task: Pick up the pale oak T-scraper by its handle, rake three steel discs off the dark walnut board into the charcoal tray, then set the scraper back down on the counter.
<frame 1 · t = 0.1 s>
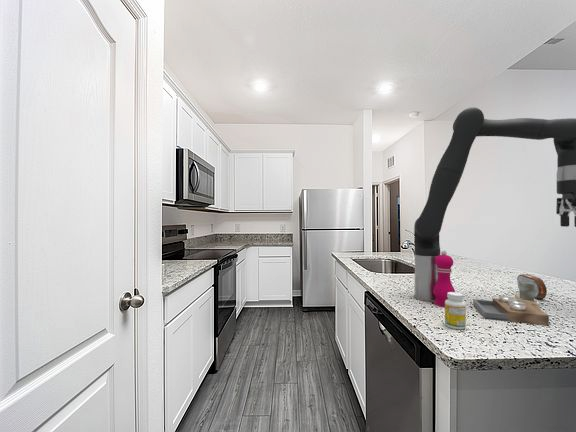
hand: (571, 226, 98), 29 cm above the countertop, tool pointing down, fingers open, 8 cm apart
disc c: (505, 301, 99), point 3 cm above the countertop, touching walnut board
tin: (530, 296, 118), on the countertop
pepper mill: (444, 305, 105), on the countertop
disc a: (517, 309, 90), point 3 cm above the countertop, touching walnut board
supplement bottle: (455, 327, 84), on the countertop
tray: (489, 312, 97), on the countertop
scraper: (526, 304, 107), on the countertop
disc b: (516, 305, 94), point 3 cm above the countertop, touching walnut board
walnut board: (517, 315, 94), on the countertop
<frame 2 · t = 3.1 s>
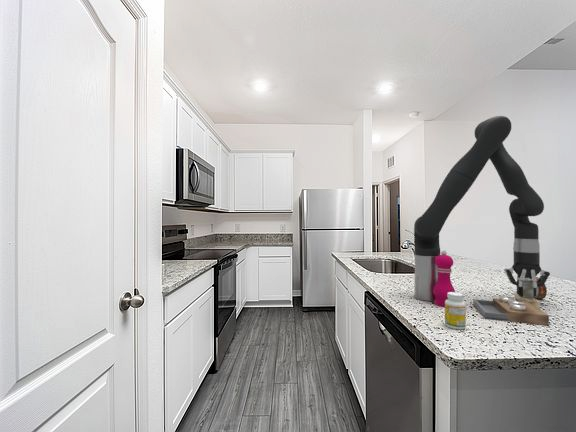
hand: (526, 296, 107), 3 cm above the countertop, tool pointing down, fingers closed on scraper, 3 cm apart
scraper: (526, 302, 107), on the countertop, touching gripper
everything else where it was.
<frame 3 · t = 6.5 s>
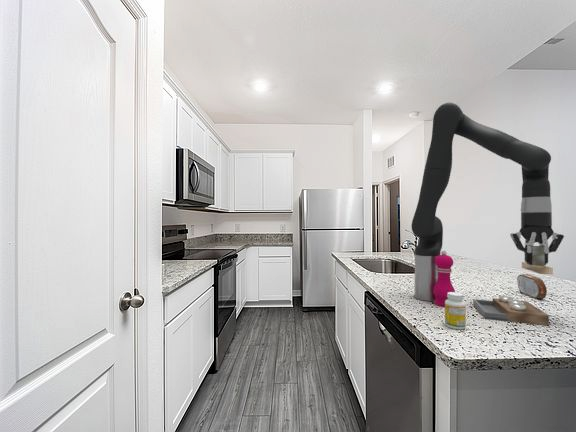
hand: (536, 264, 92), 17 cm above the countertop, tool pointing down, fingers closed on scraper, 3 cm apart
scraper: (536, 270, 93), point 15 cm above the countertop, touching gripper
everything else where it was.
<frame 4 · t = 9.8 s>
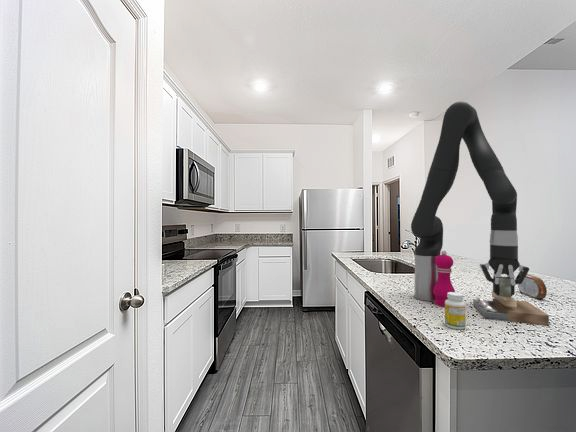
hand: (503, 295, 96), 6 cm above the countertop, tool pointing down, fingers closed on scraper, 3 cm apart
disc c: (484, 300, 102), point 3 cm above the countertop, tilted 153°, touching tray
disc a: (491, 307, 93), point 3 cm above the countertop, tilted 154°, touching tray
scraper: (503, 301, 96), point 4 cm above the countertop, touching gripper
disc b: (487, 303, 97), point 3 cm above the countertop, tilted 151°, touching tray
everything else where it was.
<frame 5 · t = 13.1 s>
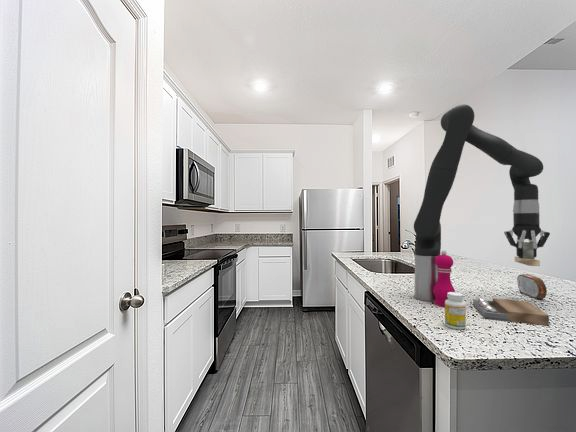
hand: (526, 258, 107), 17 cm above the countertop, tool pointing down, fingers closed on scraper, 3 cm apart
scraper: (526, 263, 107), point 15 cm above the countertop, touching gripper
everything else where it was.
when the fingers open (4 cm above the countertop, at t = 15.7 s): scraper drops 2 cm, on the countertop.
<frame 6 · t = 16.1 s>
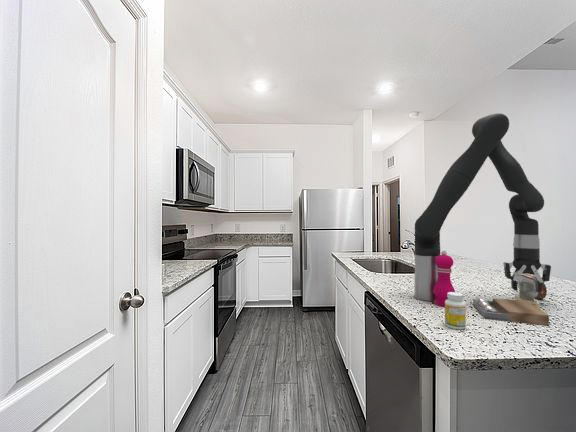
hand: (526, 291, 107), 5 cm above the countertop, tool pointing down, fingers open, 6 cm apart
scraper: (526, 304, 107), on the countertop
everything else where it was.
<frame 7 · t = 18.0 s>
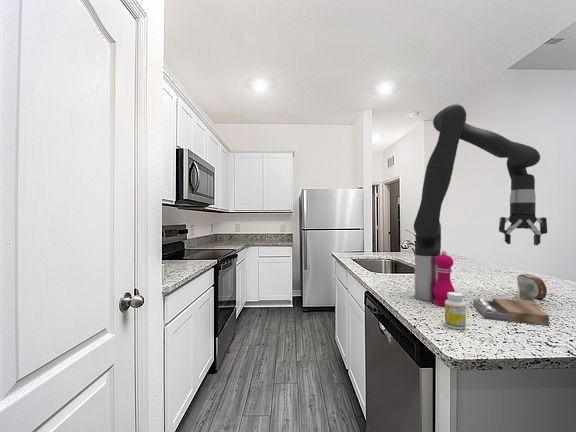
hand: (522, 244, 109), 22 cm above the countertop, tool pointing down, fingers open, 8 cm apart
nothing on the countertop moved.
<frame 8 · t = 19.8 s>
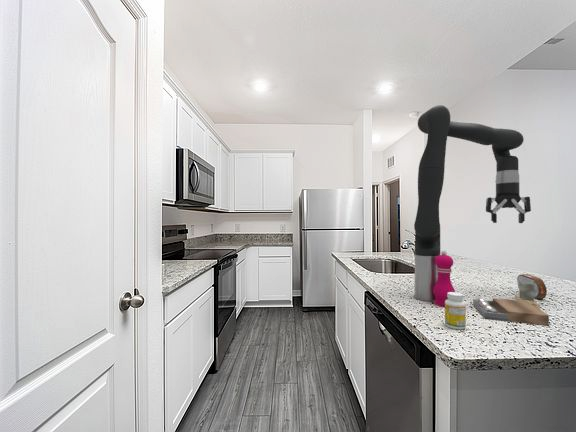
hand: (507, 223, 114), 30 cm above the countertop, tool pointing down, fingers open, 8 cm apart
nothing on the countertop moved.
at the end: disc a inside the target area (4.5 cm from its centre), point 2.7 cm above the countertop; disc b inside the target area (0.8 cm from its centre), point 2.8 cm above the countertop; disc c inside the target area (4.7 cm from its centre), point 2.7 cm above the countertop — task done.
